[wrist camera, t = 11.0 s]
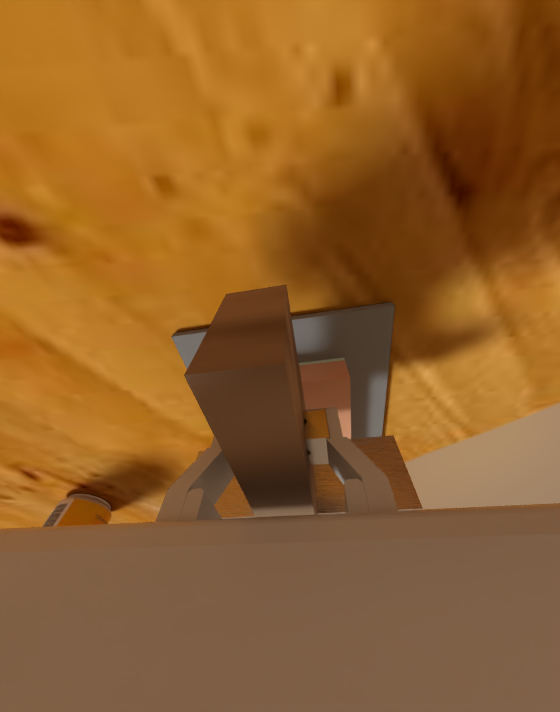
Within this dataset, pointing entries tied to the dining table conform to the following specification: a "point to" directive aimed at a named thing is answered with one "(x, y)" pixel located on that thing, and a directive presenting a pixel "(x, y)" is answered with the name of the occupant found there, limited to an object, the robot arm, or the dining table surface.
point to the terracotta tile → (328, 388)
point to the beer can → (80, 511)
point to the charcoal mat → (339, 355)
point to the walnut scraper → (271, 415)
